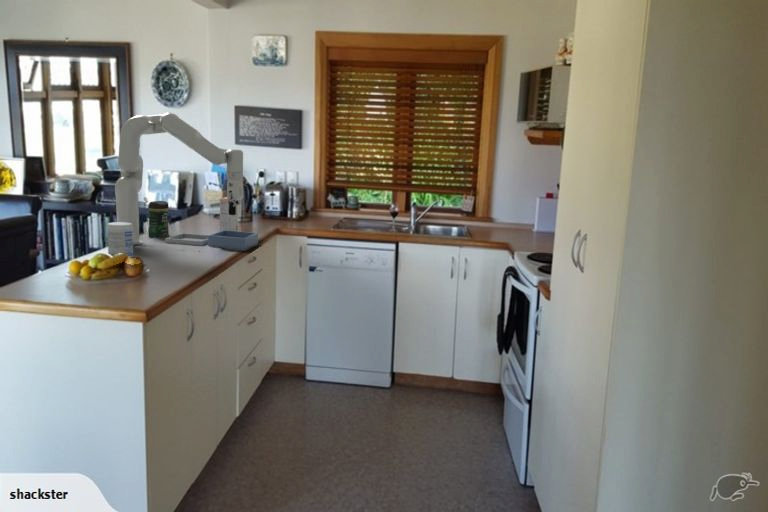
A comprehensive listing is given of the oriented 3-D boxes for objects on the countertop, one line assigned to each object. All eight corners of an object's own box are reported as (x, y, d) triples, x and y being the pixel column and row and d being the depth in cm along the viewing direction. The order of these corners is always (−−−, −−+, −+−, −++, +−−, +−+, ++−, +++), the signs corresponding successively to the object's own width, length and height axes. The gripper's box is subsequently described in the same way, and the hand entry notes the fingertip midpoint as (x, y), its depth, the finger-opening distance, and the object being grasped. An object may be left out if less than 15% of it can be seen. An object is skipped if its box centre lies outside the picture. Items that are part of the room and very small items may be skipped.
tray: (201, 247, 286) (201, 241, 285) (165, 244, 288) (165, 238, 287) (216, 241, 303) (216, 235, 303) (182, 238, 305) (182, 232, 305)
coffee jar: (159, 240, 299) (158, 202, 295) (145, 238, 301) (145, 200, 297) (171, 237, 308) (171, 200, 304) (158, 235, 310) (158, 199, 307)
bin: (245, 251, 284) (245, 238, 283) (208, 247, 286) (208, 235, 285) (257, 244, 302) (258, 233, 300) (223, 241, 304) (223, 230, 303)
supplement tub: (131, 261, 249) (130, 225, 246) (106, 260, 247) (105, 224, 244) (134, 256, 258) (134, 222, 256) (110, 256, 256) (110, 221, 254)
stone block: (237, 217, 288) (237, 205, 287) (227, 216, 289) (227, 204, 288) (241, 216, 293) (241, 204, 292) (231, 215, 294) (231, 203, 293)
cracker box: (227, 234, 326) (227, 195, 322) (238, 235, 325) (239, 196, 321) (218, 238, 312) (219, 198, 308) (230, 239, 312) (231, 198, 308)
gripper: (235, 177, 279) (235, 216, 282) (248, 175, 295) (248, 212, 299) (220, 176, 280) (219, 215, 283) (233, 174, 296) (233, 211, 300)
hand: (234, 213), depth 291 cm, fingers closed on stone block, 5 cm apart
